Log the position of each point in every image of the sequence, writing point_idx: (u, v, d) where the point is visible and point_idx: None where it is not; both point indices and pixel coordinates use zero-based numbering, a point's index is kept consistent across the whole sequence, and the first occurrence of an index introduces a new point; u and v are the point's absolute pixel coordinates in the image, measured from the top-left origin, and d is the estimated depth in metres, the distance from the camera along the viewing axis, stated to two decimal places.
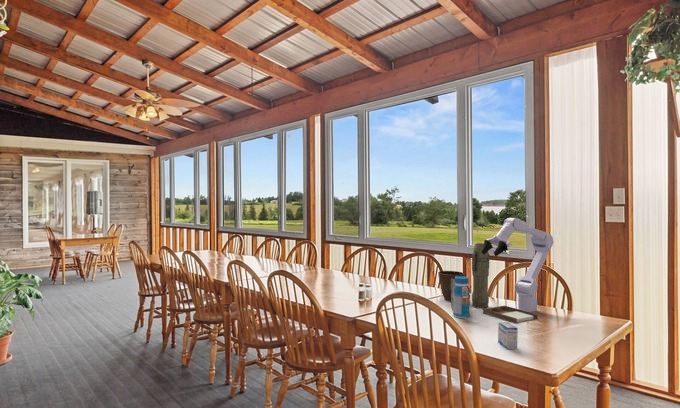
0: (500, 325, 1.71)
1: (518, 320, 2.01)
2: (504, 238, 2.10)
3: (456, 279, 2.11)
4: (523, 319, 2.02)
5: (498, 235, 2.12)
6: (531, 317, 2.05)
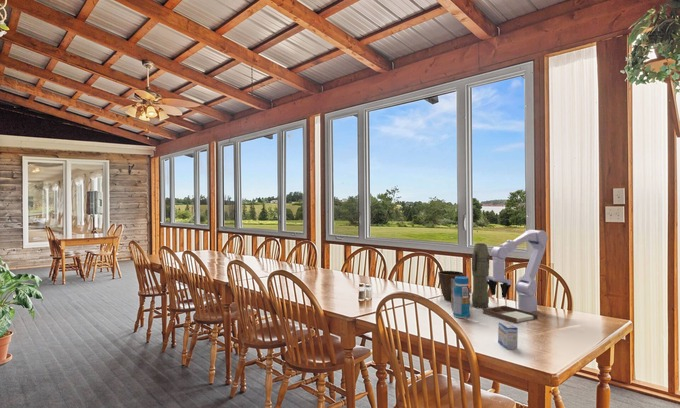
0: (500, 325, 1.71)
1: (518, 320, 2.01)
2: (502, 275, 2.14)
3: (456, 279, 2.11)
4: (523, 319, 2.02)
5: (495, 276, 2.15)
6: (531, 317, 2.05)
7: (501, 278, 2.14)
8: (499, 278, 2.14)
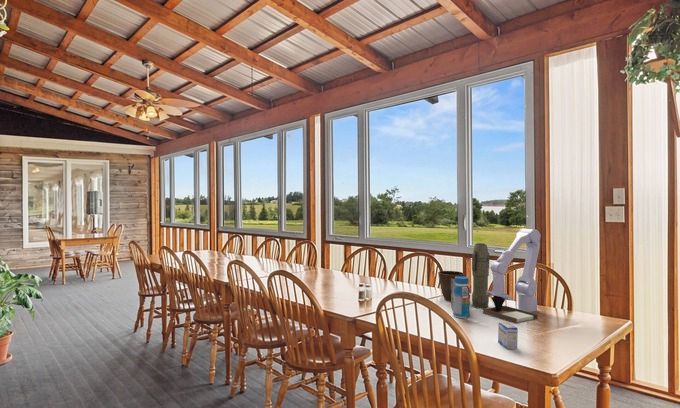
0: (500, 325, 1.71)
1: (518, 320, 2.01)
2: (502, 291, 2.14)
3: (456, 279, 2.11)
4: (523, 319, 2.02)
5: (495, 291, 2.15)
6: (531, 317, 2.05)
7: (501, 293, 2.14)
8: (499, 293, 2.14)
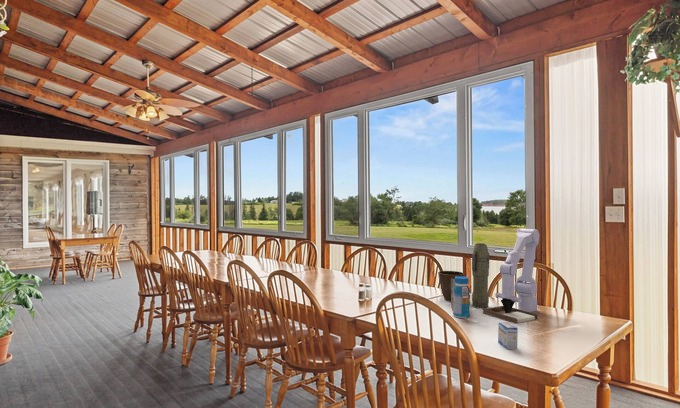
0: (500, 325, 1.71)
1: (519, 320, 2.00)
2: (511, 293, 2.09)
3: (456, 279, 2.11)
4: (524, 319, 2.02)
5: (504, 293, 2.10)
6: (532, 317, 2.04)
7: (510, 296, 2.09)
8: (508, 296, 2.09)
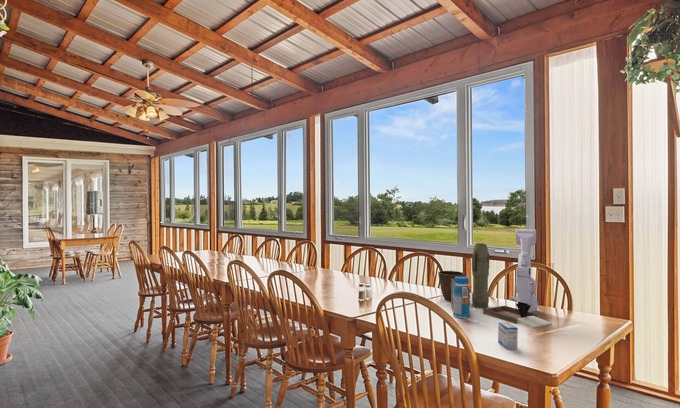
0: (500, 325, 1.71)
1: None
2: (527, 297, 2.01)
3: (456, 279, 2.11)
4: None
5: (520, 297, 2.02)
6: (549, 324, 1.97)
7: (526, 299, 2.01)
8: (524, 299, 2.01)
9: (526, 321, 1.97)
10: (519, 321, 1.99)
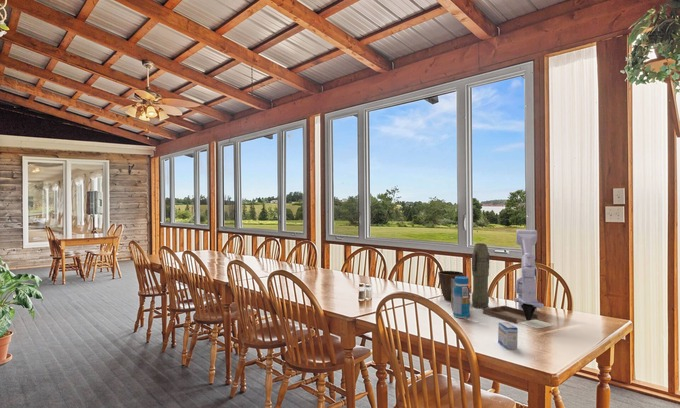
0: (500, 325, 1.71)
1: None
2: (533, 298, 1.98)
3: (456, 279, 2.11)
4: None
5: (525, 298, 1.99)
6: None
7: (532, 301, 1.98)
8: (530, 301, 1.98)
9: (529, 324, 1.96)
10: None
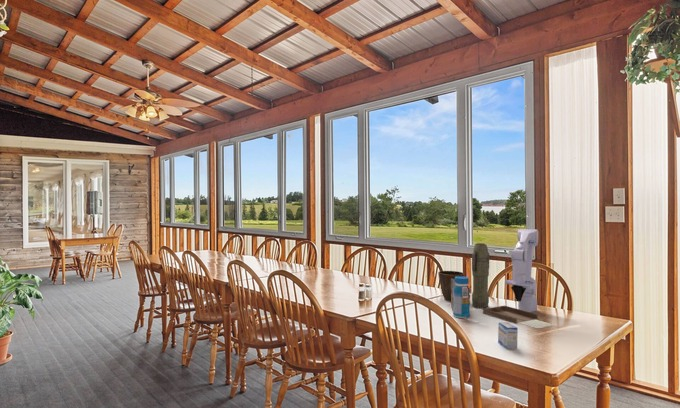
0: (500, 325, 1.71)
1: None
2: (522, 279, 2.04)
3: (456, 279, 2.11)
4: None
5: (515, 280, 2.05)
6: None
7: (521, 282, 2.04)
8: (519, 282, 2.04)
9: (529, 324, 1.96)
10: None
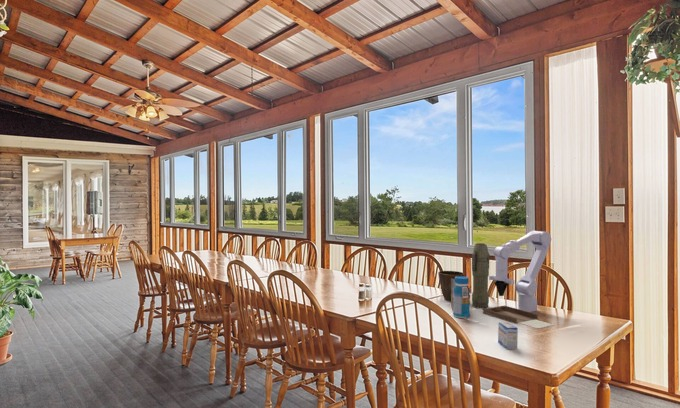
0: (500, 325, 1.71)
1: None
2: (505, 275, 2.15)
3: (456, 279, 2.11)
4: None
5: (498, 275, 2.16)
6: None
7: (504, 278, 2.15)
8: (502, 278, 2.15)
9: (529, 324, 1.96)
10: None
